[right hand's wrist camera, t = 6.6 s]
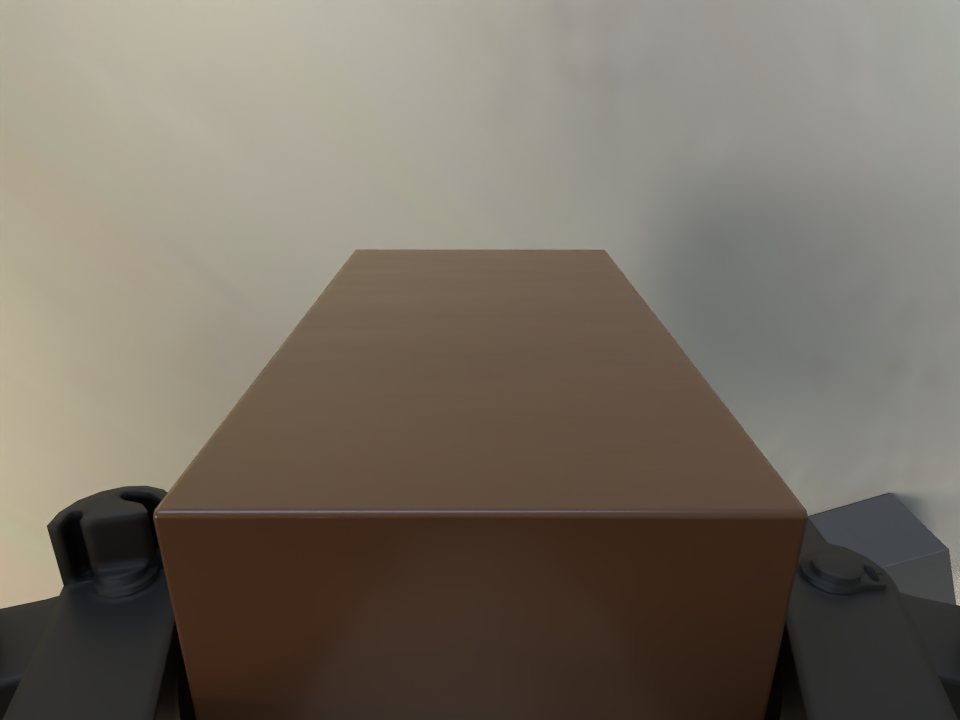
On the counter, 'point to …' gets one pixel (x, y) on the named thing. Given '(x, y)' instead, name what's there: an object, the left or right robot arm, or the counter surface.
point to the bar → (480, 510)
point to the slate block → (892, 545)
